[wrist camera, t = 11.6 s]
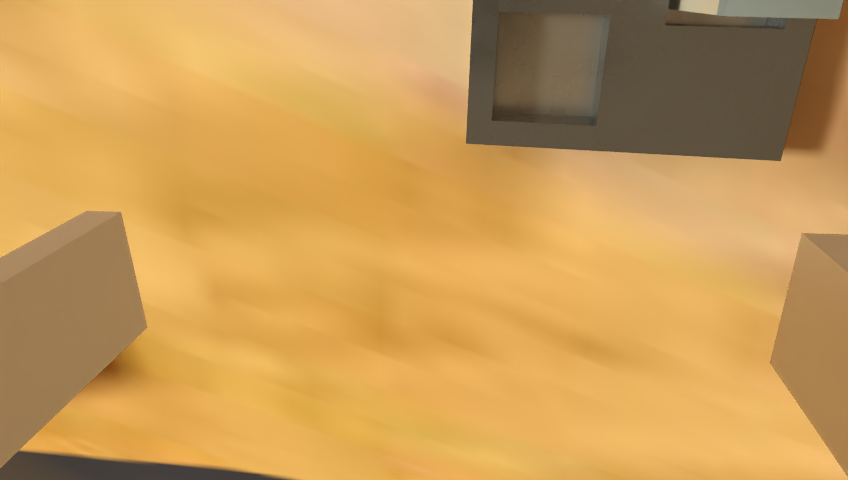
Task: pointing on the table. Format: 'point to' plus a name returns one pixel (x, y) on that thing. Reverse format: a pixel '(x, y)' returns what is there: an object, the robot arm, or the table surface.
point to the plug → (763, 8)
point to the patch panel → (633, 78)
